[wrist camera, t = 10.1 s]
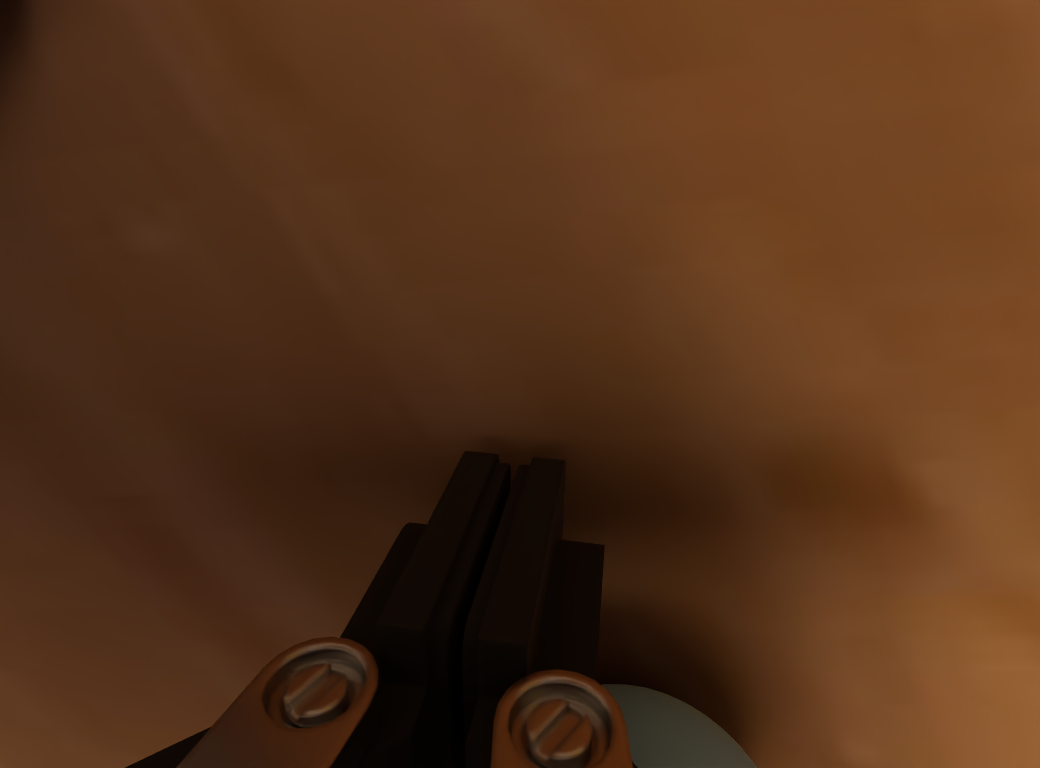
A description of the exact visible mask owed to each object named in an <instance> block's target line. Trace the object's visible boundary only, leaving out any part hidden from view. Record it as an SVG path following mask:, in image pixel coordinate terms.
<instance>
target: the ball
mask: <svg viewBox="0 0 1040 768" xmlns="http://www.w3.org/2000/svg"><path fill="white" fill-rule="evenodd" d="M601 686H603V687H604V688H605V689H606V690H608V691H609V692H610V694H611V695H612V696H613V698H614V699H615V700H616V702H617V703H618V705H619V706H620V708H621V711H622V714H623V717H624V720H625V723H626V727H627V734H628V740H629V747H630V753H631V759H632V762H633V763H634V764H635V765H636V766H637V767H638V768H758V767H757V766H756V765H755V764H754V762H753V761H752V760H751V759H750V757H749V756H748V755H747V754H746V752H745V751H744V750H743V749H742V747H741V746H740V745H739V744H738V743H737V742H736V741H735V740H734V739H733V738H732V737H731V736H730V735H729V734H728V733H727V732H726V731H725V730H724V729H723V728H721V727H720V726H719V725H718V724H716V723H715V722H714V721H712V720H711V719H710V718H709V717H707V716H706V715H705V714H703V713H702V712H700V711H698V710H697V709H695V708H694V707H692V706H690V705H689V704H687V703H685V702H683V701H681V700H679V699H677V698H674V697H672V696H670V695H668V694H665V693H662V692H659V691H655V690H652V689H649V688H646V687H639V686H633V685H627V684H602V685H601Z"/></svg>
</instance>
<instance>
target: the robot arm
mask: <svg viewBox="0 0 1040 768" xmlns="http://www.w3.org/2000/svg"><path fill="white" fill-rule="evenodd" d="M565 469H566V462H565V460H557V459H547V458H536V457H532V460H531V463H530V466H529V465H519V466H518V468H517V471H516V474H515V477H514V480H513V483H512V486H511V468H510V464H509V463H500V459H499V455H498V454H494V453H484V452H473V451H465V452H464V454H463V455H462V457H461V459H460V461H459V463H458V465H457V467H456V469H455V471H454V473H453V475H452V477H451V479H450V481H449V483H448V485H447V487H446V489H445V491H444V493H443V494H442V496H441V498H440V500H439V502H438V504H437V506H436V508H435V510H434V512H433V514H432V516H431V518H430V520H429V522H428V524H427V525H426V524H418V523H407V524H405V526H404V527H403V528H402V530H401V531H400V533H399V535H398V537H397V538H396V540H395V542H394V544H393V546H392V547H391V549H390V551H389V553H388V554H387V556H386V558H385V560H384V561H383V563H382V565H381V567H380V568H379V570H378V572H377V574H376V575H375V577H374V579H373V581H372V583H371V584H370V586H369V588H368V590H367V591H366V593H365V595H364V597H363V598H362V600H361V602H360V604H359V605H358V607H357V609H356V611H355V612H354V614H353V616H352V618H351V619H350V621H349V623H348V625H347V627H346V628H345V630H344V632H343V634H342V635H341V637H340V638H337V637H326V638H316V639H312V640H309V641H306V642H302V643H299V644H296V645H294V646H292V647H291V648H289V649H287V650H285V651H284V652H282V653H280V654H278V655H277V656H276V657H275V658H274V659H273V660H271V661H270V662H269V663H268V664H267V665H266V666H265V667H264V668H263V669H262V670H261V671H260V672H259V673H258V674H257V676H256V677H255V678H254V679H253V680H252V681H251V682H250V684H249V685H248V686H247V687H246V688H245V689H244V690H243V692H242V693H241V694H240V695H239V696H238V697H237V698H236V700H235V701H234V702H233V703H232V704H231V705H230V706H229V708H228V709H227V710H226V711H225V712H224V713H223V714H222V716H221V717H220V718H219V719H218V720H217V721H216V722H215V724H214V725H213V726H212V727H210V728H208V729H206V730H203V731H201V732H199V733H197V734H195V735H193V736H191V737H189V738H187V739H184V740H182V741H180V742H178V743H176V744H174V745H172V746H170V747H168V748H165V749H163V750H161V751H159V752H157V753H155V754H153V755H151V756H149V757H146V758H144V759H142V760H140V761H138V762H136V763H134V764H132V765H130V766H127V767H125V768H638V767H637V766H636V765H635V764H634V763H633V762H632V759H631V753H630V747H629V740H628V734H627V727H626V723H625V720H624V717H623V714H622V711H621V708H620V706H619V705H618V703H617V702H616V700H615V699H614V698H613V696H612V695H611V694H610V692H609V691H608V690H606V689H605V688H604V687H603V686H601V685H600V684H599V683H597V682H596V666H597V651H598V636H599V622H600V607H601V592H602V577H603V563H604V547H605V545H601V544H593V543H584V542H575V541H566V540H562V532H563V511H564V491H565Z"/></svg>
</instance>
